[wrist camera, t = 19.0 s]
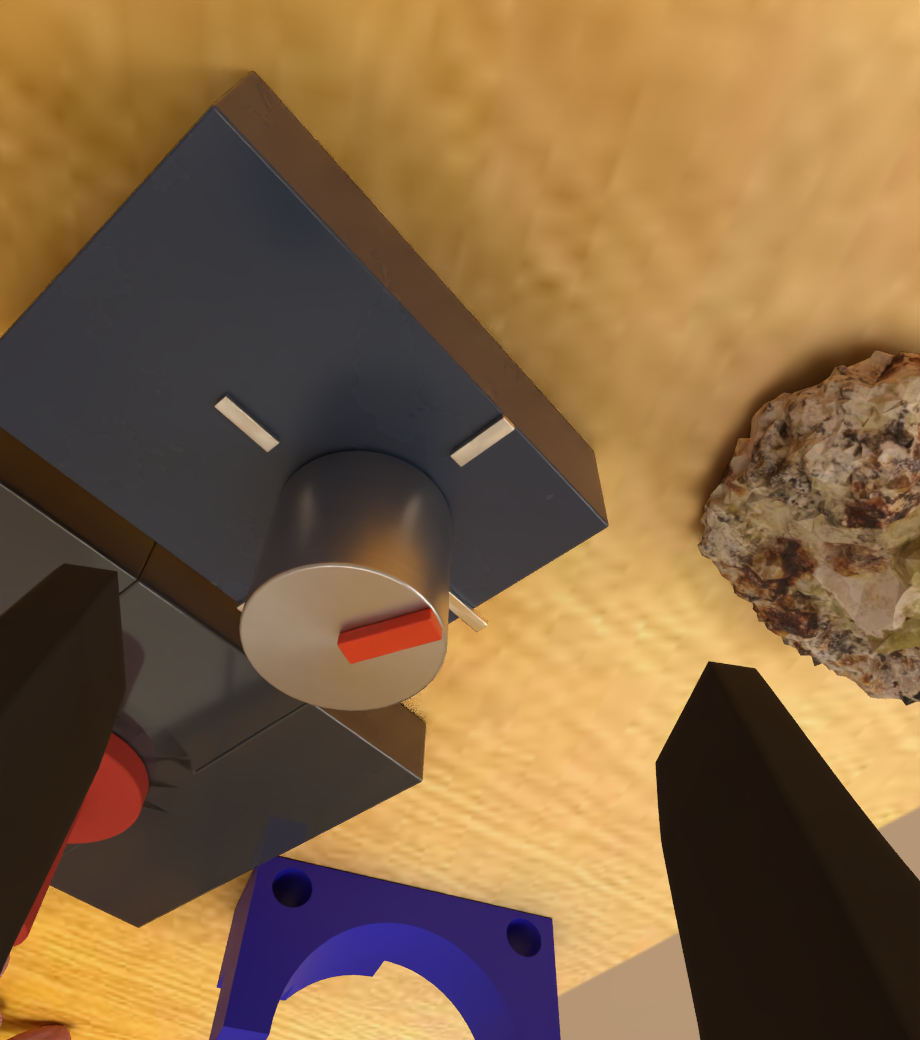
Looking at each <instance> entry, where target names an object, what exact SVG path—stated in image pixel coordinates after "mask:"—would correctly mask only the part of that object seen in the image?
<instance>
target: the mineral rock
mask: <svg viewBox="0 0 920 1040" xmlns="http://www.w3.org/2000/svg"><path fill="white" fill-rule="evenodd" d="M751 420H752V427H751V434H750V438H739V439H738V442H737V445H736V448H735V452H734V455H733V457H732V460H731V461H730V463H729V464H728V465H727V468H726V470H725V473H724V475H723V477H722V483H721V484H719V485H718V487H717V488H716V489H715V490H714V491H713V492H712V493H711V494H710V498H709V499H708V500H707V502H706V504H705V506H704V510H705V513H704V515H703V517H702V519H701V523H702V524H704V526H705V528H706V529H705V531H704V533H703V536H702V541H701V542H700V543H699V545H698V548H699V550H700V552H701V554H702V556H704V557H706V558H708V559H711V560H712V561H713V563H714V564H715V565H716V566H717V568H718V569H719V571H720V573H721V575H722V576H723V577H725V578H726V579H728V580H729V581H731V584H732V586H733V588H734V593H735V594H737V595H738V596H739V597H741V598H743V599H745V600H748V601H750V602H753V605H754V606H753V610H754V611H755V612H756V613H757V617H758V620H759V621H760V622H765V625H766V627H767V629H769V630H770V631H772V632H773V633H775V634H776V635H779V636H782V639H783V642H784V644H786V645H791V646H792V647H794V648H796V649H797V650H798V652H799V654H800V655H811V656H812V659H813V662H814V666H817V665H819V664H821V663H823V664H824V665H825V666H826V667H827V668H828V669H829V670H833V671H834V672H835V673H836V674H837V675H838V676H846V677H847V678H849V679H851V680H852V681H854V682H855V683H857V685H858V686H859V687H860V688H861V689H863V690H864V691H865V692H866V693H867V694H868V695H869V696H870V697H872V698H892V699H902V701H903V702H904V703H905V705H909V704H911V703H914V702H919V701H920V354H914V353H905V352H903V351H902V352H900V353H898V354H896V355H894V356H893V355H890V354H887V353H884V352H881V351H877V350H875V352H874V353H873V354H872V356H871V357H870V358H868V359H866V360H864V361H861V362H859V363H857V364H854V365H852V366H849V367H846V366H844V365H841V366H838V367H835V368H834V370H833V372H832V373H831V375H830V377H828V378H827V379H826V380H824V381H823V382H821V383H820V384H818V385H815V386H812V387H808V388H805V389H802V390H799V391H796V392H794V393H793V394H791V393H785V392H783V393H782V394H780V395H779V396H778V397H777V398H775V399H774V400H772V401H769V402H767V403H765V404H764V405H763V406H762V407H761V408H760V409H759V410H758V411H757V412H756V413H755V415H754V416H753V417H752V418H751Z"/></svg>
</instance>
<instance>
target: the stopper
mask: <svg viewBox="0 0 920 1040" xmlns="http://www.w3.org/2000/svg"><path fill="white" fill-rule="evenodd" d="M148 787H149V781H148V774H147V771H146V768H145V765H144V764H143V762H142V760H141V758H140V757H139V756H138V754H137V753H136V752H135V751H134V750H133V749H132V748H131V747H130V746H129V745H128V744H127V743H126V742H125V741H124V740H122V739H121V738H120V737H119V736H117V735H116V734H114V733H113V732H112V733H111V736H110V739H109V741H108V744H107V747H106V750H105V753H104V755H103V758H102V761H101V764H100V767H99V769H98V771H97V773H96V775H95V777H94V780H93V782H92V784H91V786H90V788H89V790H88V792H87V794H86V796H85V799H84V801H83V803H82V805H81V807H80V809H79V811H78V813H77V815H76V817H75V819H74V821H73V824H72V826H71V828H70V830H69V832H68V834H67V836H66V838H65V840H64V842H63V844H62V846H61V848H60V850H59V852H58V854H57V857H56V859H55V861H54V863H53V865H52V867H51V869H50V871H49V873H48V875H47V877H46V879H45V881H44V883H43V885H42V887H41V889H40V891H39V894H38V896H37V898H36V900H35V902H34V904H33V906H32V908H31V910H30V912H29V914H28V916H27V918H26V920H25V922H24V924H23V926H22V928H21V931H20V933H19V935H18V937H17V939H16V941H15V943H14V945H13V946H16V945H18V944H20V943H22V942H23V941H24V940H25V939H26V938H27V936H28V934H29V932H30V930H31V927H32V925H33V923H34V920H35V918H36V915H37V913H38V911H39V908H40V906H41V904H42V901H43V899H44V897H45V894H46V892H47V890H48V887H49V885H50V882H51V880H52V878H53V875H54V873H55V871H56V868H57V866H58V864H59V861H60V859H61V856H62V854H63V852H64V849H65V847H66V845H67V843H69V844H77V843H89V842H97V841H101V840H105V839H108V838H111V837H114V836H116V835H118V834H120V833H122V832H124V831H125V830H126V829H128V828H129V827H130V826H131V825H132V824H133V823H134V822H135V821H136V819H137V818H138V816H139V815H140V812H141V809H142V806H143V804H144V801H145V798H146V795H147V792H148Z"/></svg>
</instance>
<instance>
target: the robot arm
mask: <svg viewBox="0 0 920 1040" xmlns="http://www.w3.org/2000/svg"><path fill="white" fill-rule="evenodd" d="M125 691H126V677H125V664H124V651H123V638H122V624H121V611H120V598H119V584H118V571H112V570H106V569H99V568H93V567H86V566H80V565H73V564H66V563H64V564H62V565H61V566H59V567H57V568H56V569H55V570H53V571H52V572H51V573H50V574H49V575H47V576H46V577H45V578H44V579H43V580H41V581H40V582H39V583H38V584H37V585H36V586H34V587H33V588H32V589H31V590H30V591H29V592H27V593H26V594H25V595H24V596H23V597H21V598H20V599H19V600H18V601H17V602H16V603H14V604H13V605H12V606H11V607H10V608H8V609H7V610H6V611H5V612H4V613H3V614H1V615H0V974H1V972H2V970H3V967H4V965H5V963H6V960H7V958H8V956H9V954H10V951H11V949H12V947H13V945H14V943H15V941H16V939H17V937H18V935H19V933H20V931H21V928H22V926H23V924H24V922H25V920H26V918H27V916H28V914H29V912H30V910H31V908H32V906H33V904H34V902H35V900H36V898H37V896H38V894H39V891H40V889H41V887H42V885H43V883H44V881H45V879H46V877H47V875H48V873H49V871H50V869H51V867H52V865H53V863H54V861H55V859H56V857H57V854H58V852H59V850H60V848H61V846H62V844H63V842H64V840H65V838H66V836H67V834H68V832H69V830H70V828H71V826H72V824H73V821H74V819H75V817H76V815H77V813H78V811H79V809H80V807H81V805H82V803H83V801H84V799H85V796H86V794H87V792H88V790H89V788H90V786H91V784H92V782H93V780H94V777H95V775H96V773H97V771H98V769H99V767H100V764H101V761H102V758H103V755H104V753H105V750H106V747H107V744H108V741H109V739H110V736H111V733H112V730H113V727H114V724H115V721H116V718H117V715H118V712H119V709H120V706H121V703H122V700H123V697H124V694H125ZM656 779H657V796H658V810H659V821H660V833H661V843H662V848H663V853H664V859H665V864H666V869H667V874H668V879H669V884H670V889H671V895H672V900H673V905H674V910H675V915H676V919H677V924H678V929H679V934H680V939H681V944H682V949H683V953H684V958H685V963H686V968H687V973H688V978H689V983H690V988H691V993H692V998H693V1003H694V1008H695V1013H696V1017H697V1022H698V1028H699V1034H700V1040H920V881H919V879H918V878H917V877H916V876H915V875H914V873H913V872H912V871H911V870H910V869H909V868H908V866H907V865H906V864H905V863H904V862H903V860H902V859H901V858H900V857H899V856H898V855H897V853H896V852H895V851H894V849H893V848H892V847H891V846H890V844H889V843H888V842H887V841H886V840H885V838H884V837H883V836H882V835H881V833H880V832H879V831H878V830H877V828H876V827H875V826H874V824H873V823H872V822H871V821H870V819H869V818H868V817H867V816H866V814H865V813H864V812H863V810H862V809H861V808H860V807H859V805H858V804H857V803H856V801H855V800H854V799H853V798H852V796H851V795H850V794H849V792H848V791H847V790H846V788H845V787H844V786H843V784H842V783H841V782H840V781H839V779H838V778H837V777H836V775H835V774H834V773H833V771H832V770H831V769H830V767H829V766H828V765H827V763H826V762H825V761H824V759H823V758H822V757H821V755H820V754H819V753H818V751H817V750H816V748H815V747H814V746H813V744H812V743H811V742H810V740H809V739H808V738H807V736H806V735H805V734H804V732H803V731H802V730H801V728H800V727H799V726H798V724H797V723H796V721H795V720H794V719H793V717H792V716H791V715H790V713H789V712H788V711H787V709H786V708H785V707H784V705H783V704H782V703H781V701H780V700H779V699H778V697H777V696H776V694H775V693H774V692H773V691H772V689H771V688H770V687H769V685H768V684H767V683H766V681H765V680H764V679H763V677H762V676H761V675H760V674H759V672H758V671H757V670H756V669H755V668H749V667H743V666H736V665H730V664H723V663H716V662H710V661H709V662H708V664H707V665H706V667H705V669H704V671H703V673H702V675H701V677H700V679H699V681H698V683H697V684H696V686H695V688H694V690H693V692H692V694H691V696H690V698H689V700H688V702H687V704H686V705H685V707H684V709H683V711H682V713H681V715H680V717H679V719H678V721H677V723H676V725H675V726H674V728H673V730H672V732H671V734H670V736H669V738H668V740H667V742H666V744H665V746H664V747H663V749H662V751H661V753H660V755H659V757H658V759H657V761H656Z"/></svg>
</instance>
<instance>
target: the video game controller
mask: <svg viewBox="0 0 920 1040" xmlns="http://www.w3.org/2000/svg"><path fill="white" fill-rule="evenodd" d="M9 959H10V956H8V958H7V960H6V963H5V965H4V967H3V970H2V972H1V974H0V977H1V976H2V974H3V973H4V971H5V969H6V967H7V966H8V963H9ZM1 1023H2V1015H1V1013H0V1026H1ZM7 1040H71V1036H70V1033H69V1031H68V1030H67V1029H66V1027H64V1026H60V1025H46V1026H42V1027H38V1028H35V1029H32V1030H29V1031H26V1032H23V1033H20V1034H18V1035H16V1036H14V1037H11V1038H9V1039H7Z"/></svg>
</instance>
